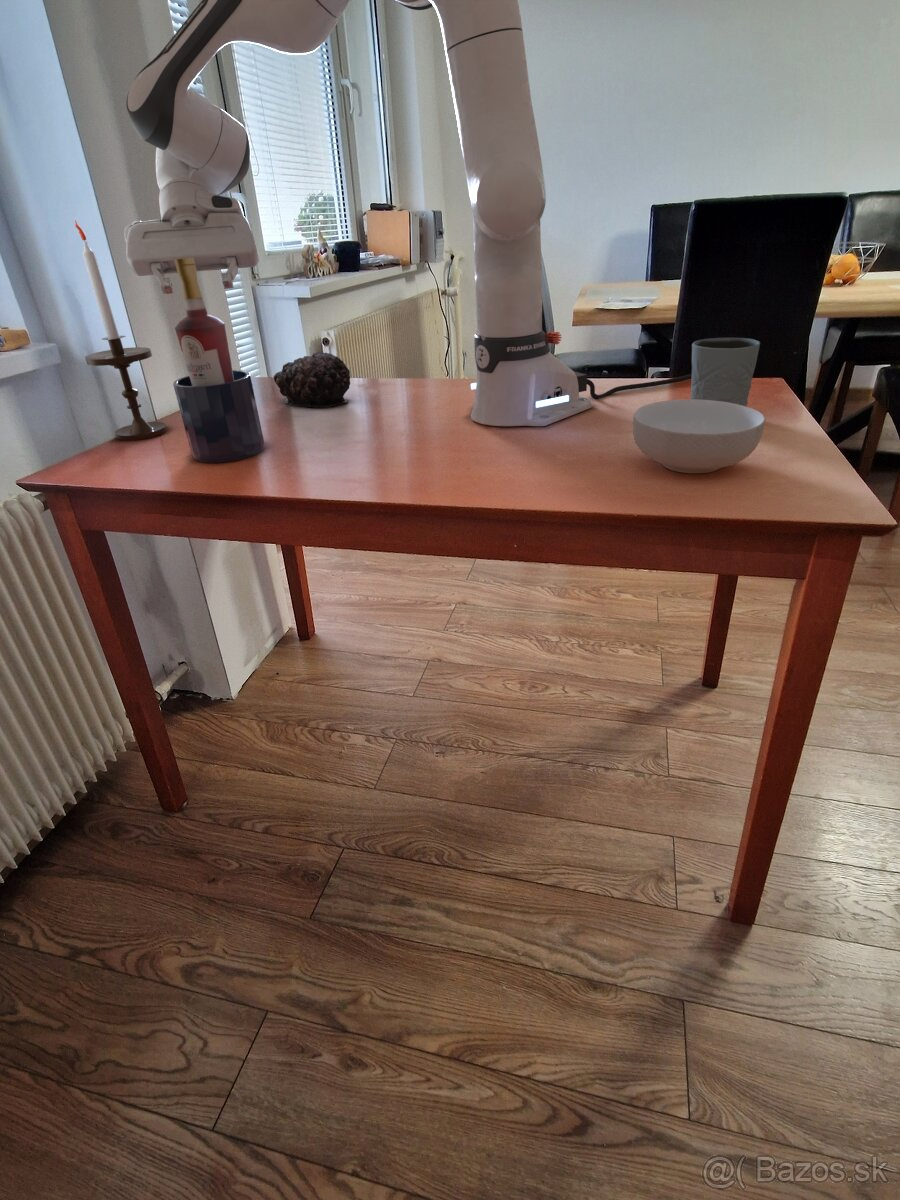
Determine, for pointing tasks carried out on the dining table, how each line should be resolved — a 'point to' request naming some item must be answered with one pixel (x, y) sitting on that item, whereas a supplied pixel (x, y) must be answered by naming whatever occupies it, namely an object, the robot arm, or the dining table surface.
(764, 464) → the dining table surface
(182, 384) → the dark blue plant pot
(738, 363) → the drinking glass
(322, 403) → the pine cone
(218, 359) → the liquor
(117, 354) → the candlestick
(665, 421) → the cereal bowl
